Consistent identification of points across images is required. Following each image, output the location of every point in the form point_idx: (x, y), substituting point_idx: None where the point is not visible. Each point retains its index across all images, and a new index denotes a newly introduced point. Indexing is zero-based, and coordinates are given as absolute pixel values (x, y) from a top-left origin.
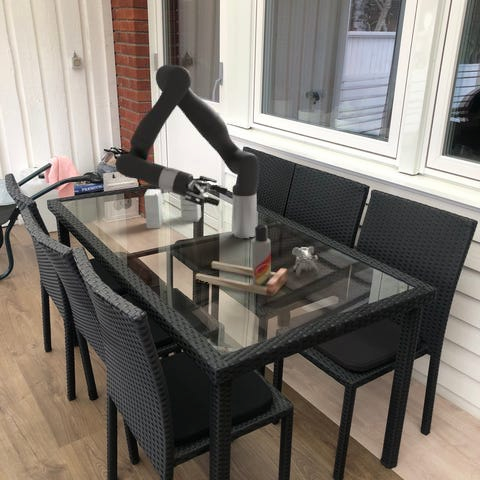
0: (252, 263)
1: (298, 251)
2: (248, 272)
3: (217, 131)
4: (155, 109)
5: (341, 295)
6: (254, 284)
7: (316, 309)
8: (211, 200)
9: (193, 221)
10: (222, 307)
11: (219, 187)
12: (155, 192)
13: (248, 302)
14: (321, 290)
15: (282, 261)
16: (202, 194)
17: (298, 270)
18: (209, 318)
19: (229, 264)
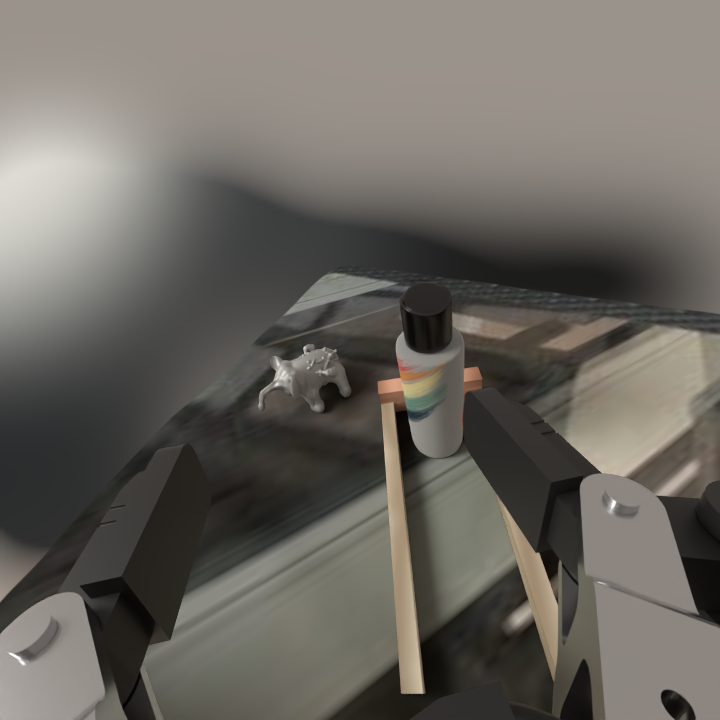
0: (453, 416)
1: (298, 378)
2: (403, 496)
3: None
4: None
5: (393, 311)
6: (461, 441)
7: (464, 315)
8: (558, 438)
9: None
10: (630, 455)
11: (156, 531)
12: None
13: (544, 415)
14: (392, 337)
15: (280, 460)
16: (682, 572)
17: (347, 382)
18: (713, 450)
19: (399, 584)
